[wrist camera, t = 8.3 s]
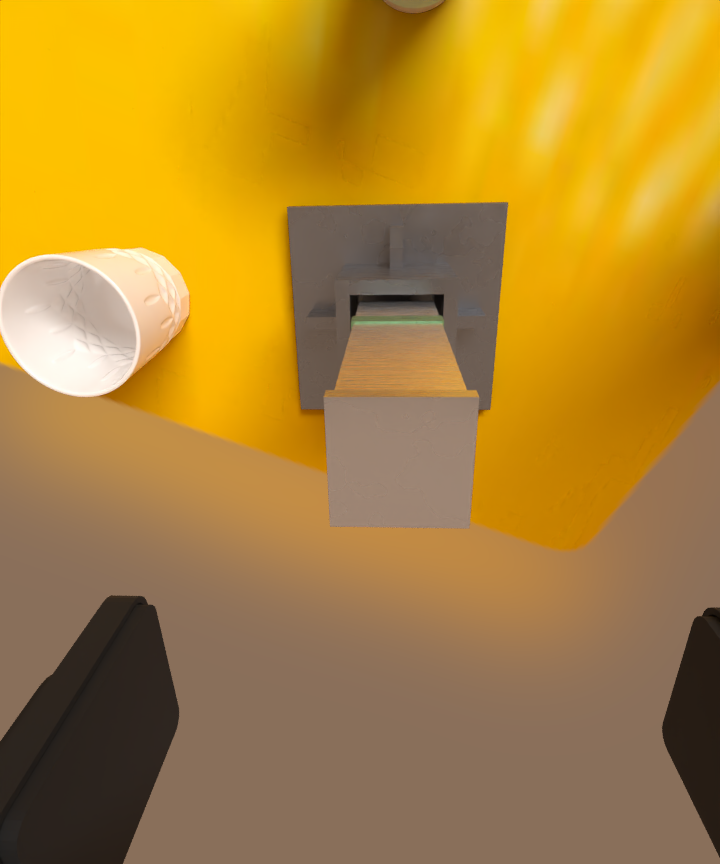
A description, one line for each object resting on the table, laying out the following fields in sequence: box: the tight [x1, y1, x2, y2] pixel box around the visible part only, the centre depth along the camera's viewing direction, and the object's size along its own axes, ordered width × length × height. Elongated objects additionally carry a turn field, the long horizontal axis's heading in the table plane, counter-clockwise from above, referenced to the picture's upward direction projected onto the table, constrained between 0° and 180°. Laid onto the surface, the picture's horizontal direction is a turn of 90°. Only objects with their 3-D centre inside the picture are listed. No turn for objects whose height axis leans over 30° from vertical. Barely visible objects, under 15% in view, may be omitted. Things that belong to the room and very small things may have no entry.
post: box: [324, 301, 479, 528], centre depth 24 cm, size 5×5×16 cm
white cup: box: [0, 248, 189, 397], centre depth 34 cm, size 8×8×10 cm
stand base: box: [287, 202, 508, 410], centre depth 34 cm, size 14×14×8 cm
